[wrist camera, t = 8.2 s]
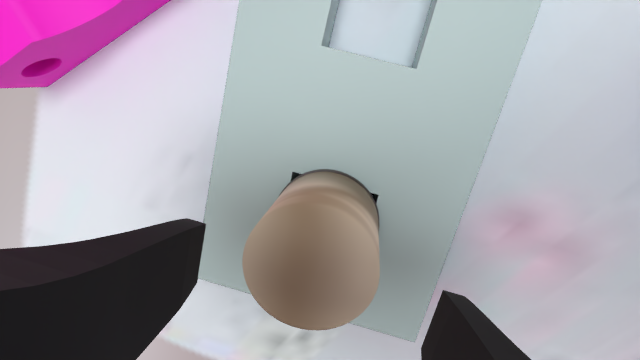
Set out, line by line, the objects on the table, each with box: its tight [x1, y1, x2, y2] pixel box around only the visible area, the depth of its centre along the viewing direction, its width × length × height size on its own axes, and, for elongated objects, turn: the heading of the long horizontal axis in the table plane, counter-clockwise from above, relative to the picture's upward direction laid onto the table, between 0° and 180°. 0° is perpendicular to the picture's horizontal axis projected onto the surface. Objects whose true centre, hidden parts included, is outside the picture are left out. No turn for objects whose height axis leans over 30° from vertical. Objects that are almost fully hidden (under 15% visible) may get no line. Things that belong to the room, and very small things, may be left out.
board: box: [198, 0, 542, 342], centre depth 18 cm, size 12×20×2 cm, turn 166°
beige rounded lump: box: [242, 169, 380, 330], centre depth 17 cm, size 5×5×7 cm
